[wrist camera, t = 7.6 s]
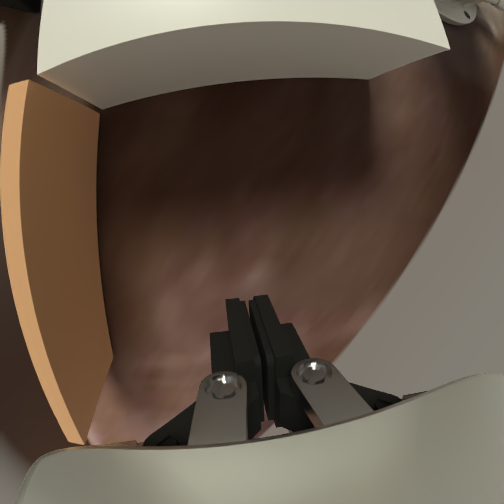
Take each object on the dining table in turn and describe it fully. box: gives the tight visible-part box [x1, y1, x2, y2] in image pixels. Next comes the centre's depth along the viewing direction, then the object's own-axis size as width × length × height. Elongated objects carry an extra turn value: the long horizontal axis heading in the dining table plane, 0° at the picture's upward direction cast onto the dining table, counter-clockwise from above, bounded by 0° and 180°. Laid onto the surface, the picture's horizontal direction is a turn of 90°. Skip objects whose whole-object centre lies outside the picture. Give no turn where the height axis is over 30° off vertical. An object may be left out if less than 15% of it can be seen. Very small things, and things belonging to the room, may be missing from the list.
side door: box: [0, 79, 113, 445], centre depth 11 cm, size 15×1×8 cm, turn 176°
